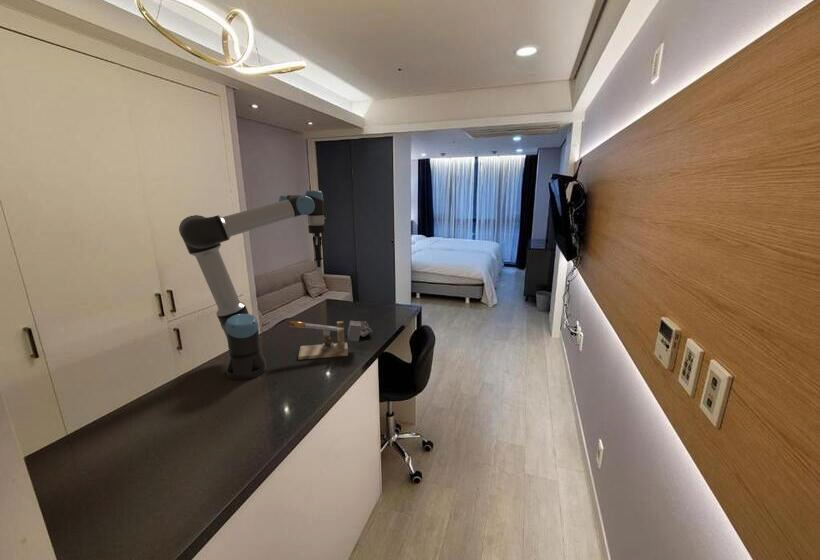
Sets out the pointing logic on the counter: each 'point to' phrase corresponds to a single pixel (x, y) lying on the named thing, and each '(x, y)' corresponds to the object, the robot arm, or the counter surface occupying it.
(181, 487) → the counter surface
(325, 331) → the lever
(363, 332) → the rock
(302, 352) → the tan angle plate
